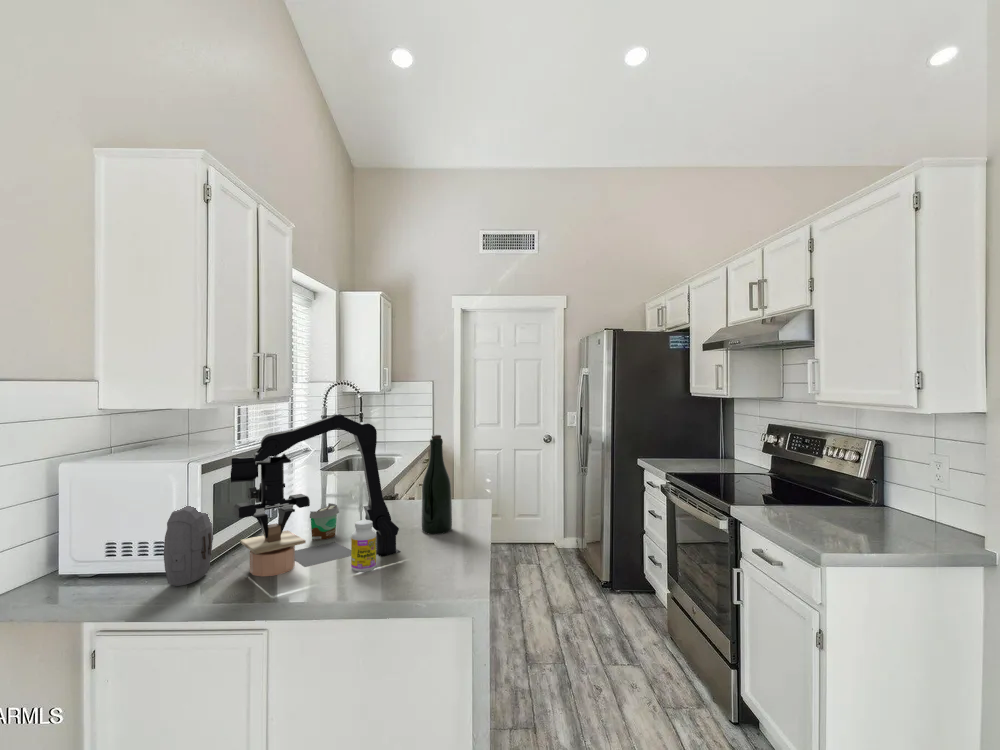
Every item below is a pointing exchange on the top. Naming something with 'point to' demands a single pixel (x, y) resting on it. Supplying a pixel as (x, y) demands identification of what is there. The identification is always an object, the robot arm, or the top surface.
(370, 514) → the robot arm
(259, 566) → the bowl
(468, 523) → the top surface
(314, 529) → the food container
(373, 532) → the supplement bottle
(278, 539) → the lid
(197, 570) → the small grey backpack
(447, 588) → the top surface
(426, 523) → the dark green wine bottle
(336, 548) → the mat
